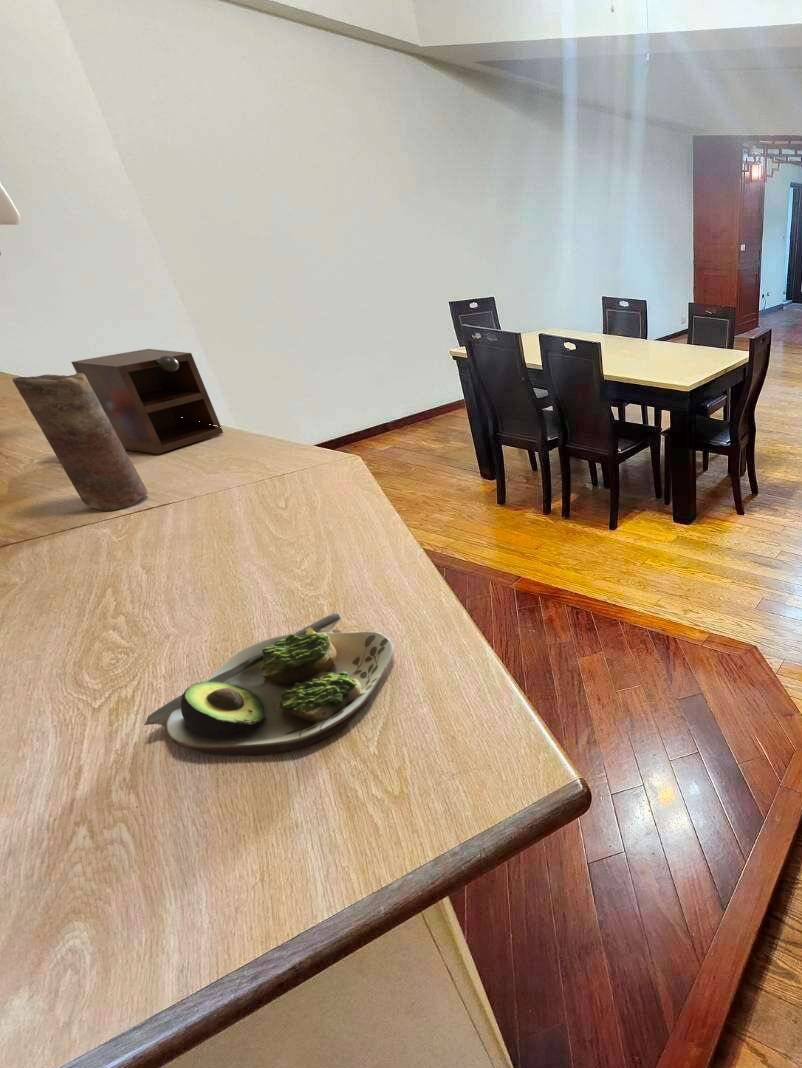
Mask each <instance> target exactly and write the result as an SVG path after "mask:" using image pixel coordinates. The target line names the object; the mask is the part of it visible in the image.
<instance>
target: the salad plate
mask: <svg viewBox="0 0 802 1068" xmlns="http://www.w3.org/2000/svg"><path fill="white" fill-rule="evenodd" d="M340 615H341V614H339V613H331V614H329V615H327V616H324V617H322V618H320V619H319V620H317V621H315V622H314V623H311V624H309V625H308V626H306V627H304V628H302V629H300V630H298V631H297V632H295V633H287V634H281V635H277V636H273V637H270V638H267V639H263V640H261V641H258V642H255V643H253V644H251V645H248V646H246V647H244V648H242V649H240V650H239V651H238V652H236V653H235V654H233V655H232V657H230V658H229V659H228V660H226V661H225V662H224V663H223V664H222V665H221V666H220V667H219V668H218V669H217V670H216V671H215V672H214V673H213V674H212V675H211V676H210V677H209V678H207V680H206V681H200V682H197V683H194V684H192V685H189V686H188V687H187V688H186V689H185V690H184V692H183V693H182V694H181V695H179V696H176V698H174V699H172V700H171V701H168V702H167V703H165V704H164V705H162V706H161V707H159V708H158V709H156V710H154V711H153V712H152V713H150V714H149V715H148V716H147V718H146V721H145V723H144V724H143V726H149V725H160V726H162V727H163V728H165V730H166V733H167V735H168V738H170V740H171V741H172V742H173V743H175V744H176V745H178V746H180V747H182V748H186V749H188V750H191V751H195V752H198V753H202V754H205V755H221V756H238V757H239V756H240V757H243V756H244V757H247V756H248V757H257V756H258V757H259V756H268V755H270V756H271V755H277V754H284V753H288V752H292V751H296V750H299V749H303V748H306V747H309V746H312V745H316V744H318V743H320V742H322V741H324V740H326V739H328V738H330V737H331V736H333V735H334V734H336V733H337V732H339V731H340V730H341V729H342V728H343V727H345V726H346V725H347V724H348V723H349V722H350V721H352V720H353V719H354V718H355V717H356V716H357V715H359V713H360V712H361V711H362V710H363V709H364V708H365V707H366V706H367V705H368V704H369V703H370V701H371V700H372V697H373V695H374V691H375V689H376V687H377V686H378V684H379V683H380V682H381V680H382V678H383V677H384V676H385V673H386V672H387V670H388V667H389V665H390V662H391V660H392V658H393V656H394V655H395V646H394V642H393V641H392V640H391V639H390V638H389V637H388V636H386V635H385V634H383V633H381V632H377V631H353V632H352V631H350V632H333V629H334V628H335V626H336V625H337V624H338V623H339V622H340V621H341V619H342V617H341V616H340Z"/></svg>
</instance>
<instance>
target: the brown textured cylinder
mask: <svg viewBox="0 0 802 1068" xmlns="http://www.w3.org/2000/svg"><path fill="white" fill-rule="evenodd" d="M12 382H13V383H14V385H15V387H16V389H17V391H18V394H19V395H20V396H21V398H22V399H23V402H24V403H25V404H26V406H27V408H28V409H29V411H30V413H31V415H32V417H33V418H34V420H35V421H36V423H37V424H38V426H39V428H40V430H41V431H42V433H43V435H44V436H45V439H46V440H47V443H48V444H49V446H50V448H51V449H52V451H53V453H54V455H55V456H56V458H57V460H58V461H59V463H60V465H61V467H62V468H63V470H64V472H65V474H66V475H67V477H68V479H69V481H70V482H71V484H72V486H73V489H75V491H76V493H77V494H78V496H79V497H80V499H81V501H82V502H83V504H84V505H85V506H86V507H88V508H93V509H96V510H101V511H103V512H104V511H105V512H108V511H109V512H110V511H116V510H120V509H122V508H124V507H128V506H132V505H135V504H136V503H137V502H138V501H139V500H141V499H142V498H144V497H146V496H147V495H148V490H147V488H146V485H145V484H144V483H143V480H142V478H141V475H140V474H139V472H138V470H137V468H136V467H135V465H134V463H133V461H132V460H131V458H130V456H129V455H128V453H127V450H125V449H124V447H123V445H122V443H121V442H120V440H119V438H118V436H117V434H116V432H115V430H114V428H113V427H112V425H111V423H110V421H109V419H108V417H107V415H106V413H105V411H104V410H103V408H102V406H101V404H100V402H99V400H98V398H97V396H96V394H95V393H94V391H93V389H92V387H91V386H90V384H89V382H88V380H87V378H86V376H85V375H84V374H83V373H76V372H75V374H70V375H62V374H60V375H59V374H50V373H49V374H42V375H36V376H21V377H20V376H18V377H14V378H12Z"/></svg>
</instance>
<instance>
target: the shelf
mask: <svg viewBox="0 0 802 1068" xmlns="http://www.w3.org/2000/svg"><path fill="white" fill-rule="evenodd" d="M70 363H71V365H72V367H73V369H74V371H75V374H76V373H83V374H84V375H85V376H86V378H87V380H88V382H89V384H90V386H91V387H92V389H93V391H94V393H95V394H96V396H97V398H98V400H99V402H100V404H101V406H102V408H103V410H104V411H105V413H106V415H107V417H108V419H109V421H110V423H111V425H112V427H113V428H114V430H115V432H116V434H117V436H118V438H119V440H120V442H121V443H122V445H123V447H124V449H125V451H134V452H142V453H148V454H157V455H158V454H163V453H165V452H169V451H172V450H174V449H177V448H182V447H183V446H187V445H191V444H193V443H196V442H199V441H203V440H206V439H208V438H212V437H215V436H219V435H221V434H224V431H223V427H222V426H221V422H220V421H219V418H218V416H217V413H216V411H215V408H214V406H213V403H212V401H211V399H210V396H209V394H208V391H207V388H206V386H205V384H204V381H203V379H202V377H201V374H200V371H199V368H198V366H197V364H196V361H195V358H194V356H193V354H192V352H186V351H176V350H175V351H174V350H167V349H165V350H164V349H156V348H144V349H137V350H133V351H127V352H122V353H114V354H109V355H103V356H97V357H91V358H86V359H79V360H74V361H70ZM181 417H183V418H181ZM199 421H200V422H199ZM209 424H211V425H209ZM213 425H217V426H218V427H217V426H213ZM220 427H221V428H220Z"/></svg>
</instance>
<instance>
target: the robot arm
mask: <svg viewBox="0 0 802 1068" xmlns="http://www.w3.org/2000/svg"><path fill="white" fill-rule="evenodd" d="M21 219H22V218H21V214H20V213H19V210H18V209H17V208H16V206H15V204H14V202H13V201H12V198H11V197H10V195H9V194H8V192H7V191H6V189H5V188H4V187H3V184H2V182H1V180H0V225H2V226H3V225H4V226H5V225H6V226H7V225H8V226H9V225H11V226H12V225H13V226H15V225H19V224H20V221H21ZM1 255H2V252H1V251H0V256H1Z"/></svg>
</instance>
